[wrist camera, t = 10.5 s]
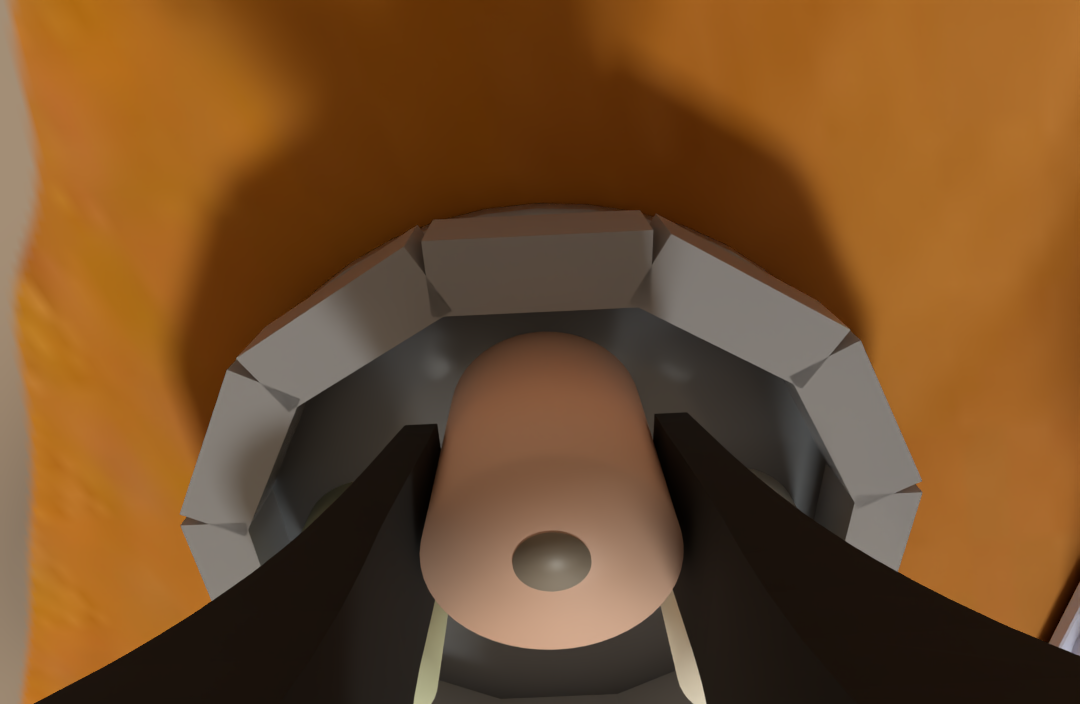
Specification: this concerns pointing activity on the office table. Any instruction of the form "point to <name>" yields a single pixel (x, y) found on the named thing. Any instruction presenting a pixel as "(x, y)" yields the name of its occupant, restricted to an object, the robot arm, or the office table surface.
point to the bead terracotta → (549, 499)
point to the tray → (547, 306)
